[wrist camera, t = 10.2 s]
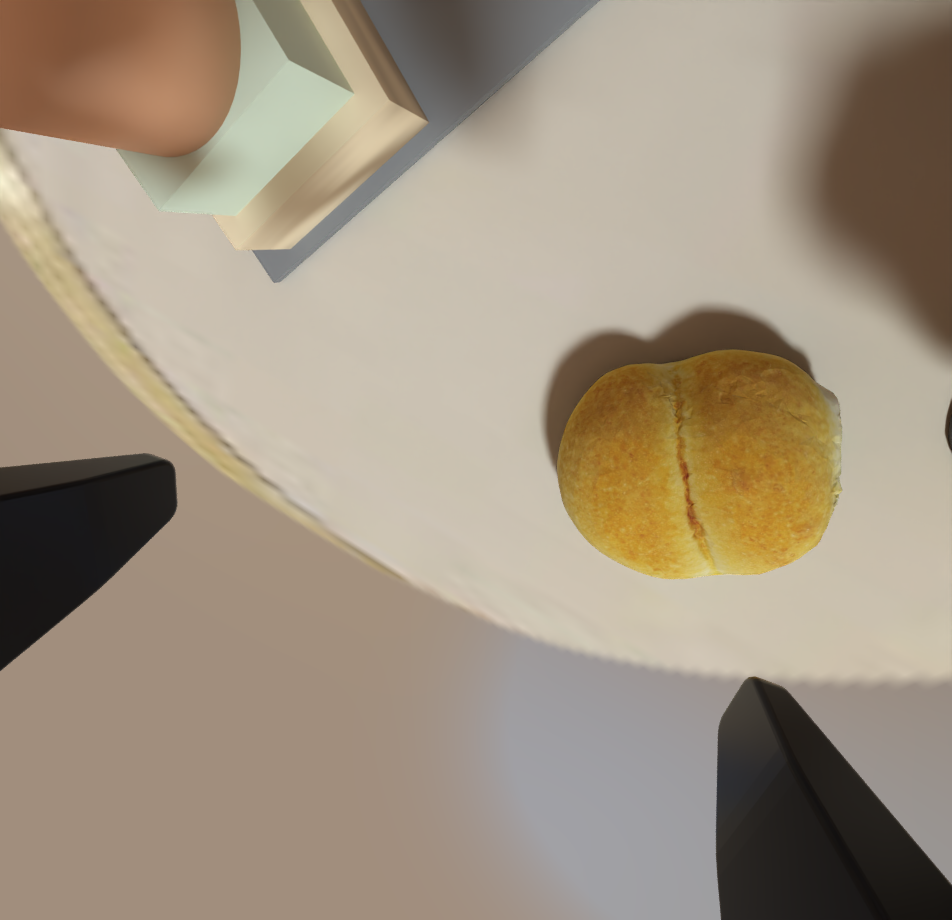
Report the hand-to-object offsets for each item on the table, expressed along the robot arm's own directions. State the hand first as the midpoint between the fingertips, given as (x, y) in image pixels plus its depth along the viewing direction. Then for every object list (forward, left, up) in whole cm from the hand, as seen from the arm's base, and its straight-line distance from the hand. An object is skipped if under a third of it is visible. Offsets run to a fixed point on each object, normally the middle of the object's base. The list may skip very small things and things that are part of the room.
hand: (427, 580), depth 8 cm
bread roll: (-3, +5, -13) cm, 15 cm away
